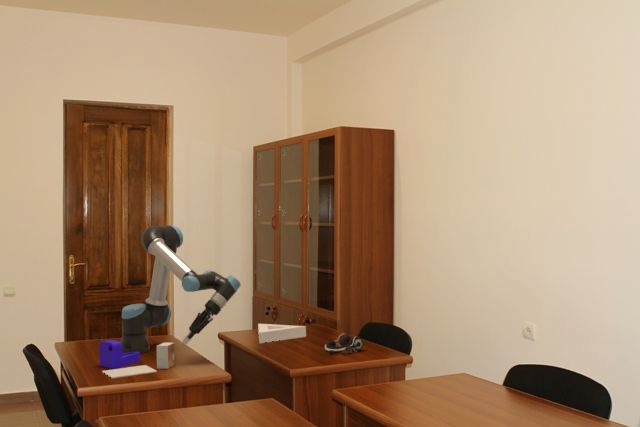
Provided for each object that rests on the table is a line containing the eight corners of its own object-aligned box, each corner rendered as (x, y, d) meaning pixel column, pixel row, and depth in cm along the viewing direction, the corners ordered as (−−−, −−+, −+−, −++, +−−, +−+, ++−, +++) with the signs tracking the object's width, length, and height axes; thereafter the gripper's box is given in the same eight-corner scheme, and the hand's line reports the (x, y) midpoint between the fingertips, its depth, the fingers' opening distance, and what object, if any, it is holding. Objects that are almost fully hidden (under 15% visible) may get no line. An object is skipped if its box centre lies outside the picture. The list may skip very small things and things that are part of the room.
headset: (366, 335, 357) (332, 346, 347) (368, 350, 358) (334, 361, 348) (347, 330, 372) (314, 340, 362) (349, 345, 373) (316, 355, 362)
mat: (101, 372, 323) (101, 370, 323) (145, 366, 333) (145, 364, 333) (111, 378, 310) (111, 377, 310) (157, 372, 321) (157, 370, 321)
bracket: (114, 369, 328) (113, 343, 328) (99, 366, 335) (99, 340, 335) (146, 362, 343) (145, 337, 342) (132, 359, 349) (131, 335, 349)
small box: (168, 369, 326) (167, 345, 326) (156, 368, 328) (156, 345, 327) (175, 365, 334) (174, 342, 334) (163, 364, 335) (163, 342, 335)
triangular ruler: (258, 334, 414) (258, 323, 413) (303, 333, 416) (303, 322, 416) (259, 344, 384) (259, 332, 384) (308, 342, 387) (308, 330, 386)
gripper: (226, 310, 340) (194, 350, 331) (215, 307, 351) (183, 346, 342) (216, 300, 337) (182, 340, 328) (204, 297, 348) (172, 336, 339)
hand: (183, 343), depth 335 cm, fingers closed
